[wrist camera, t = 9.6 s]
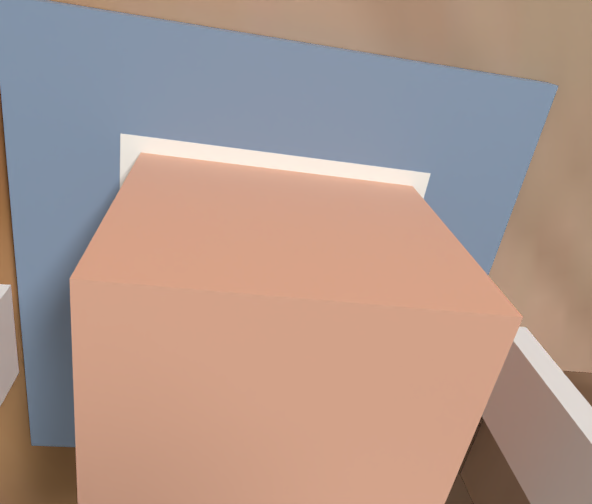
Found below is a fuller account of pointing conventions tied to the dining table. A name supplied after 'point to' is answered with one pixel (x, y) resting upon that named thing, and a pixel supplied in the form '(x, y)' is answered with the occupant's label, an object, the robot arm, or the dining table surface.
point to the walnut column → (503, 460)
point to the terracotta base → (277, 341)
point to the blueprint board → (226, 141)
